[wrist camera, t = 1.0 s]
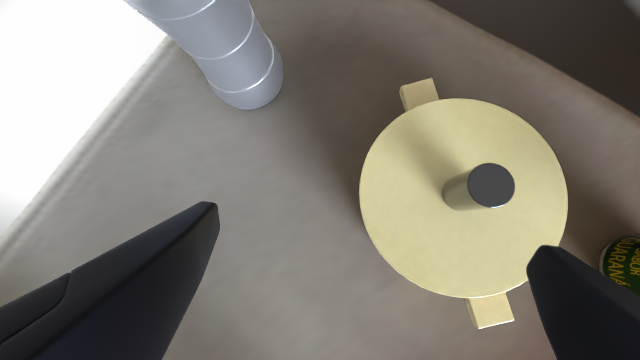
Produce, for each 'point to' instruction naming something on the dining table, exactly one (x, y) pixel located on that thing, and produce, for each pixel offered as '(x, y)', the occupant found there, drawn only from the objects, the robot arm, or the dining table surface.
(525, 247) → the pot lid
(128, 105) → the dining table surface
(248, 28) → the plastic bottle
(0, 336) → the robot arm
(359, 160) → the dining table surface
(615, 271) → the beer can
